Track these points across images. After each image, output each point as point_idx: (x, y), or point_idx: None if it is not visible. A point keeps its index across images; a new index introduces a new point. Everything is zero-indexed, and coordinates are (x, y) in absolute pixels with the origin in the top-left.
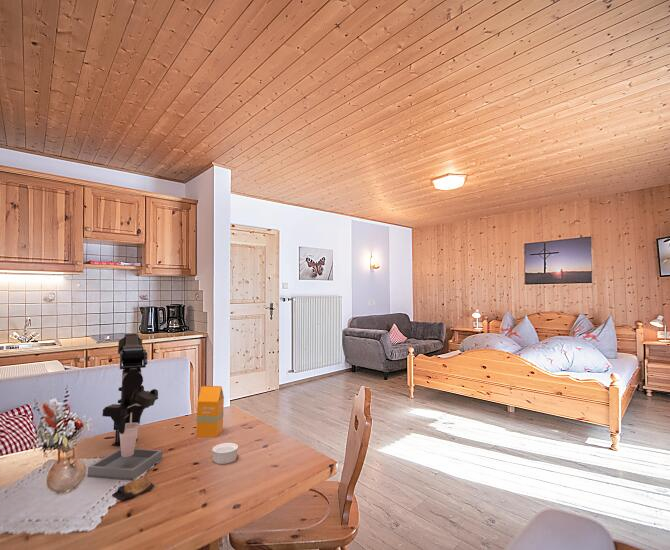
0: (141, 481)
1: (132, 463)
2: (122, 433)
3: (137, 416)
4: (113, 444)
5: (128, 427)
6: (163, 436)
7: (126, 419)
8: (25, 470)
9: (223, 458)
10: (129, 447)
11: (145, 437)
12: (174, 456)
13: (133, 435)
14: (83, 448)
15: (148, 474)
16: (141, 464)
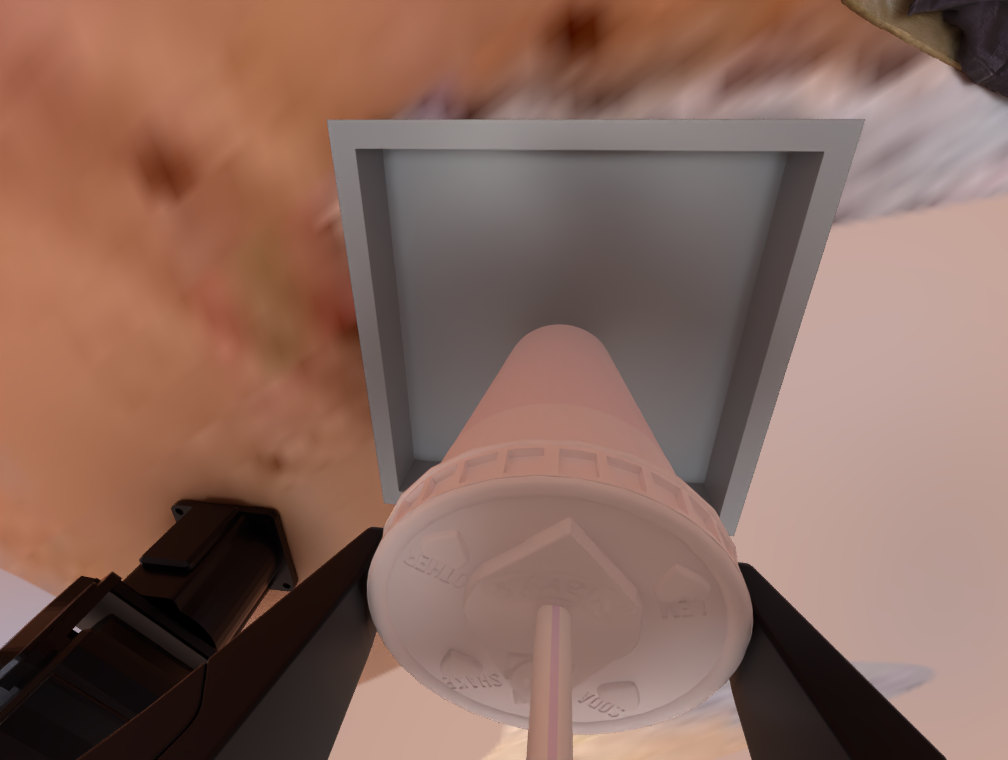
0: None
1: (523, 315)
2: (750, 571)
3: (279, 717)
4: (293, 582)
5: (675, 599)
6: (35, 381)
7: (143, 704)
8: (635, 740)
9: None
10: (616, 372)
11: (118, 480)
12: (275, 20)
13: (610, 417)
14: (374, 670)
15: (692, 34)
16: (709, 119)
